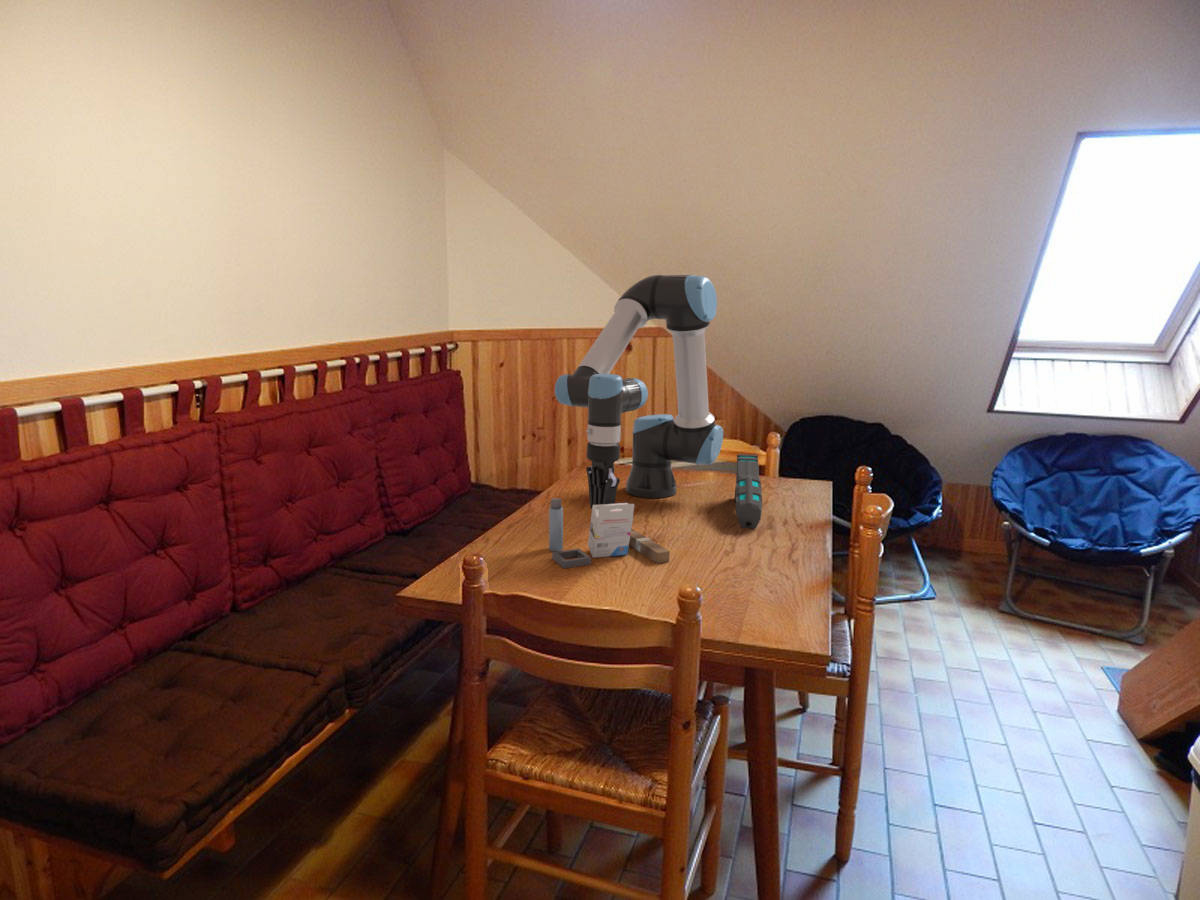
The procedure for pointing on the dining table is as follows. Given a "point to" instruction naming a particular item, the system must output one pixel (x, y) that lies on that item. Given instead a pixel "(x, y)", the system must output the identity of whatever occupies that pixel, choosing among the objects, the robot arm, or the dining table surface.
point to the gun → (748, 491)
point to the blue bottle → (555, 525)
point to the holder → (581, 560)
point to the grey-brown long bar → (648, 547)
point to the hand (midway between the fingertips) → (600, 541)
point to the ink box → (610, 529)
